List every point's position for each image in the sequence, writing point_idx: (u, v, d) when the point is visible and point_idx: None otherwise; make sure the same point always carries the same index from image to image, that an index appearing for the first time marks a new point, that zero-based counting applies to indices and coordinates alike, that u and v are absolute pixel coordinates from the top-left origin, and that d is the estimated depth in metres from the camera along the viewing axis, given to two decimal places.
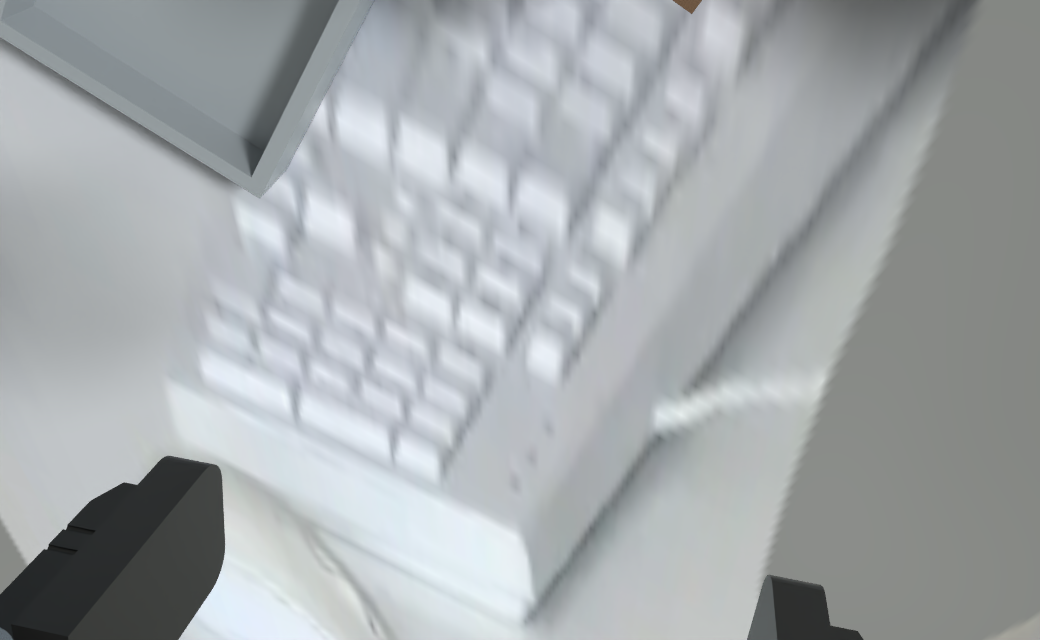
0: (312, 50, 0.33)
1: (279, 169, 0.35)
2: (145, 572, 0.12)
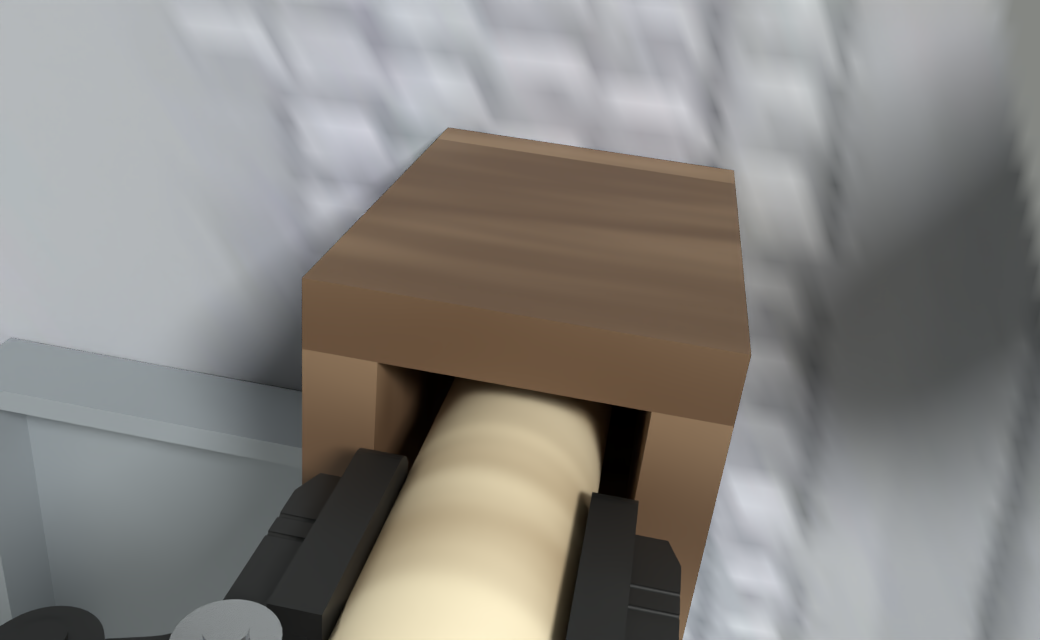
0: None
1: None
2: (364, 557, 0.13)
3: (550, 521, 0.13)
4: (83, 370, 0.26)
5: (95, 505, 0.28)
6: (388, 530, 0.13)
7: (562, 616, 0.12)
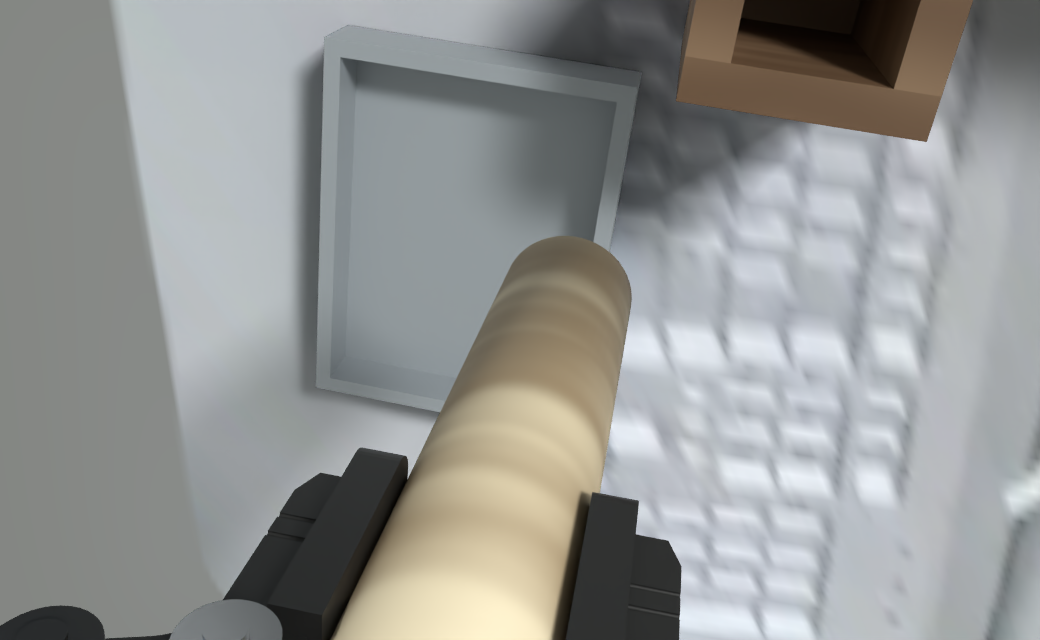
0: None
1: None
2: (364, 556, 0.13)
3: (553, 519, 0.13)
4: (414, 41, 0.34)
5: (399, 167, 0.37)
6: (390, 530, 0.13)
7: (564, 616, 0.12)
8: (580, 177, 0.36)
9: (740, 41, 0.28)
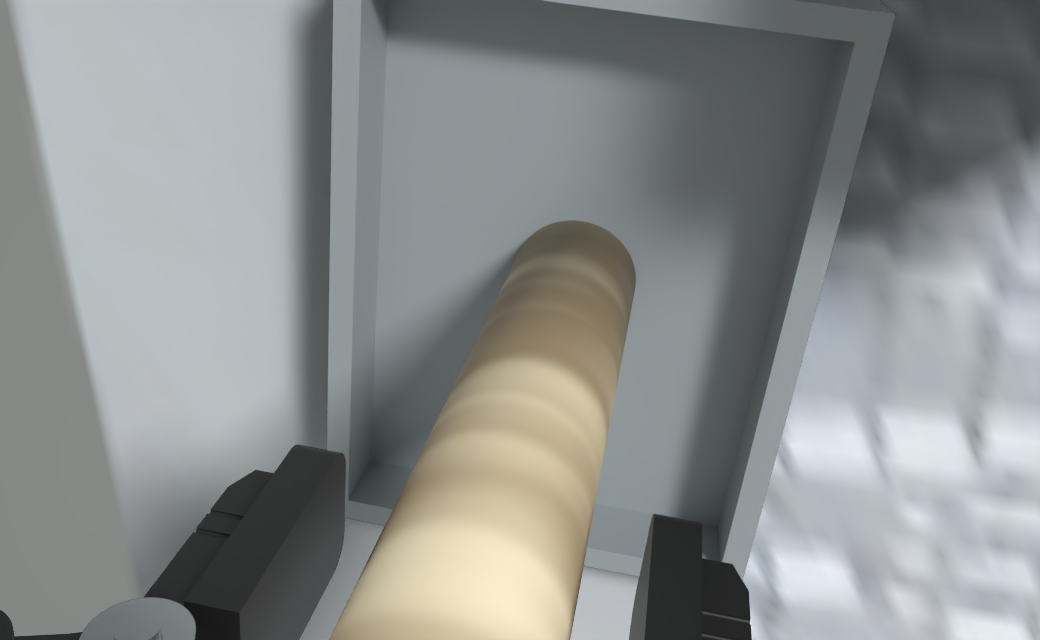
0: (739, 376, 0.24)
1: None
2: (292, 554, 0.13)
3: (559, 479, 0.14)
4: None
5: (457, 168, 0.23)
6: (410, 487, 0.14)
7: (570, 564, 0.13)
8: (759, 178, 0.21)
9: None
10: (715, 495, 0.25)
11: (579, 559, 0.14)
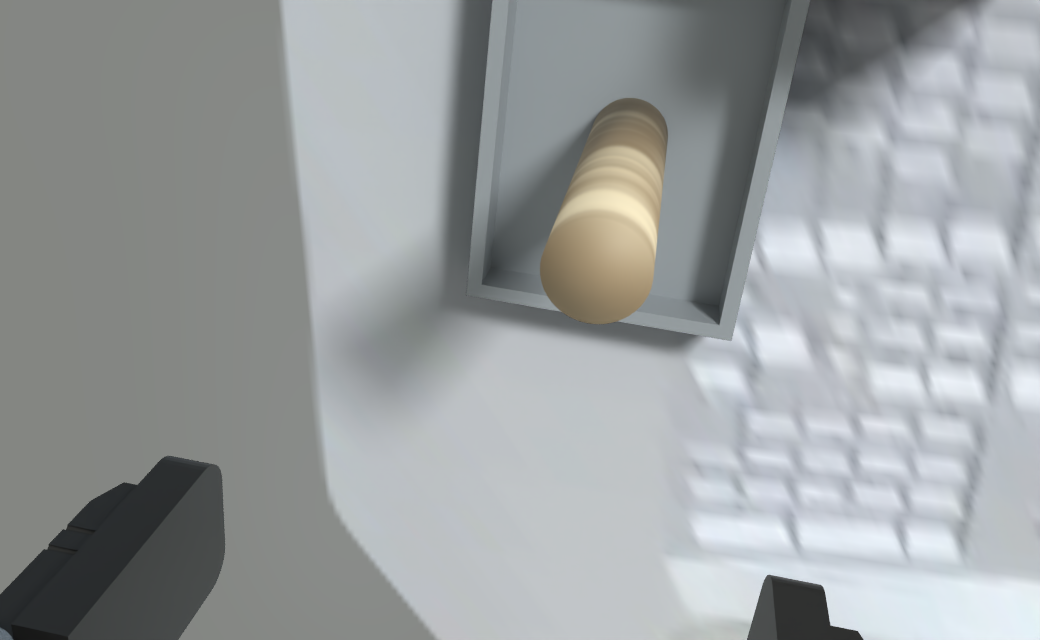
0: (732, 199, 0.38)
1: None
2: (145, 572, 0.12)
3: (646, 187, 0.28)
4: None
5: (558, 65, 0.37)
6: (572, 189, 0.28)
7: (654, 217, 0.27)
8: (744, 68, 0.36)
9: None
10: (717, 283, 0.39)
11: (657, 221, 0.28)
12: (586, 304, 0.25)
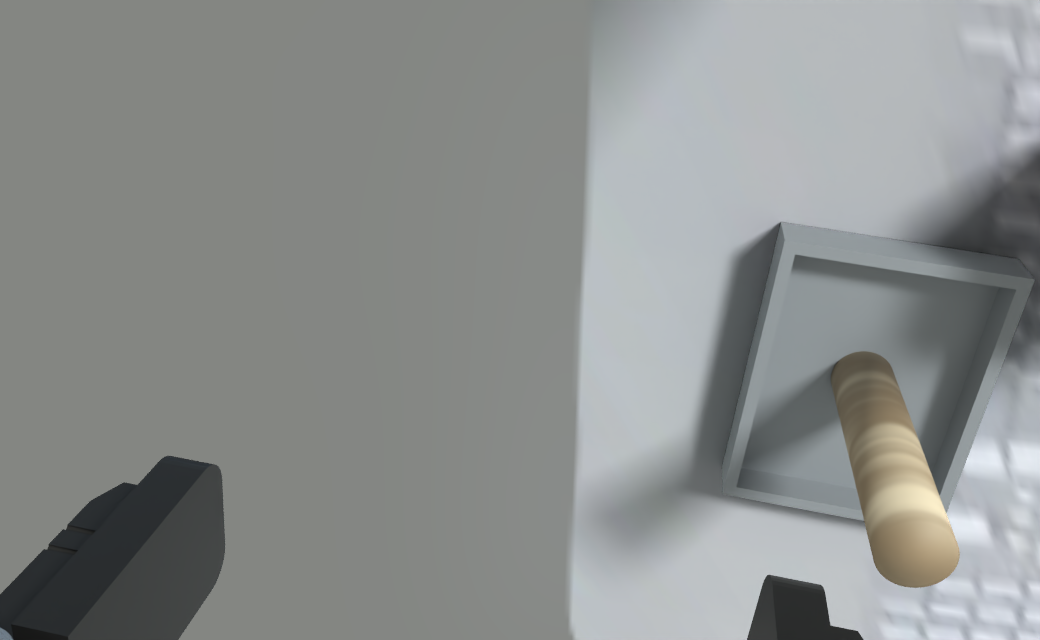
0: (940, 425, 0.48)
1: None
2: (146, 572, 0.12)
3: (927, 470, 0.38)
4: (842, 237, 0.45)
5: (809, 326, 0.47)
6: (874, 473, 0.38)
7: (940, 499, 0.37)
8: (960, 335, 0.46)
9: None
10: None
11: None
12: (905, 574, 0.36)
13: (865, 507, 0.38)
